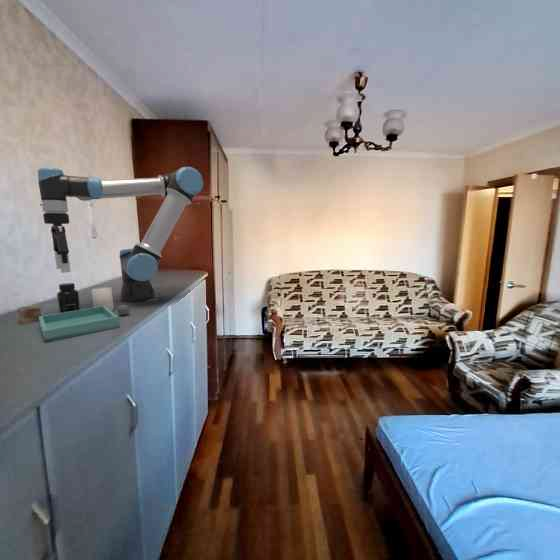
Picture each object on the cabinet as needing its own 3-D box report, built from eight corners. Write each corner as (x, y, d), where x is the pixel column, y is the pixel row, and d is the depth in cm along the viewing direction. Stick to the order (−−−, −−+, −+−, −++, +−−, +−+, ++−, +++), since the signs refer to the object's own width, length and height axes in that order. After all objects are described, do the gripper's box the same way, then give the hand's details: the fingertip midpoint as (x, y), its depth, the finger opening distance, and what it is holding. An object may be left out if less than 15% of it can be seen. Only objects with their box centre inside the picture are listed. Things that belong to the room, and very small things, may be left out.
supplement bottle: (70, 317, 114) (65, 286, 112) (55, 316, 115) (50, 285, 113) (85, 312, 121) (81, 282, 118) (70, 311, 122) (66, 282, 120)
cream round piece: (111, 307, 128) (109, 286, 126) (116, 310, 123) (113, 288, 121) (92, 310, 123) (89, 288, 122) (96, 313, 118) (93, 291, 116)
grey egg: (128, 312, 119) (127, 303, 118) (131, 315, 116) (130, 304, 115) (116, 315, 116) (115, 304, 115) (119, 317, 113) (118, 306, 112)
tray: (105, 314, 117) (104, 305, 116) (119, 326, 102) (118, 316, 102) (40, 326, 104) (38, 316, 103) (45, 342, 89) (43, 331, 89)
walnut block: (36, 318, 114) (34, 305, 113) (42, 320, 111) (40, 307, 110) (19, 322, 109) (17, 308, 109) (25, 324, 107) (22, 310, 106)
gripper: (40, 213, 118) (47, 268, 121) (46, 211, 99) (54, 275, 103) (63, 214, 123) (70, 266, 126) (73, 211, 104) (80, 272, 108)
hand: (63, 270), depth 115 cm, fingers open, 13 cm apart
